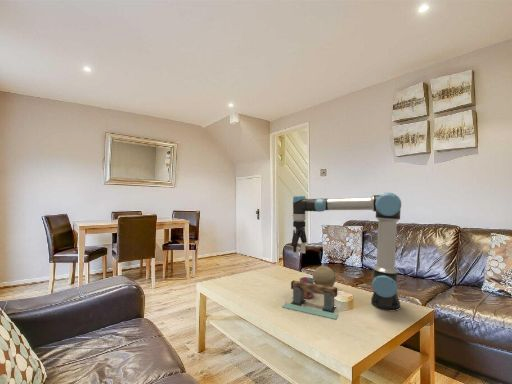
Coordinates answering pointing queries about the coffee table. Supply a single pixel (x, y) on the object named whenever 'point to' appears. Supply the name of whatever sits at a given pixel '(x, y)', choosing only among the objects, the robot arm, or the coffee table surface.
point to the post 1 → (298, 296)
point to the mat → (311, 311)
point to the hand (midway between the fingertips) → (299, 255)
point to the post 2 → (328, 302)
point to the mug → (307, 280)
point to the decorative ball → (324, 276)
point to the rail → (314, 288)
